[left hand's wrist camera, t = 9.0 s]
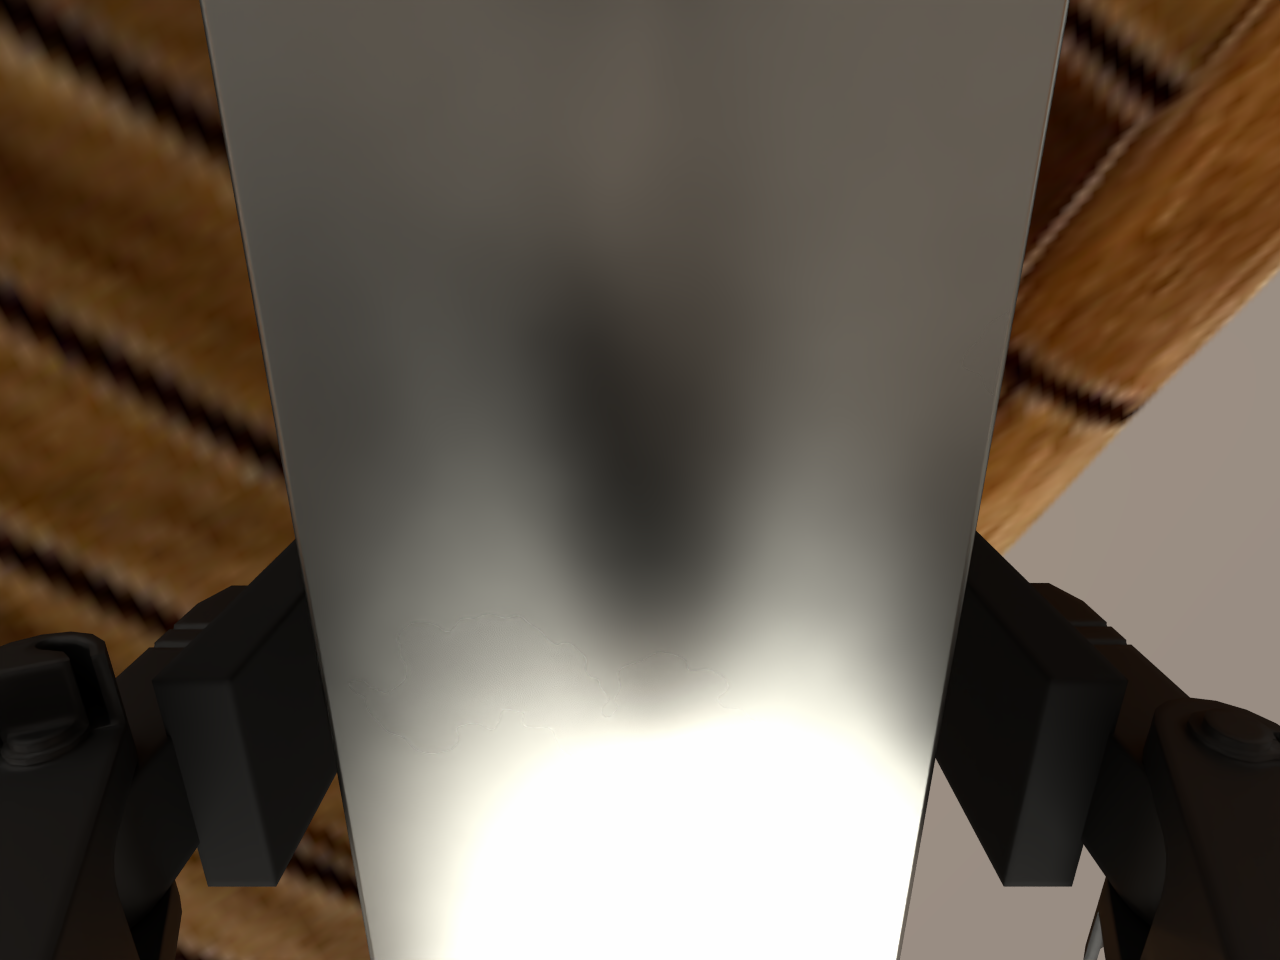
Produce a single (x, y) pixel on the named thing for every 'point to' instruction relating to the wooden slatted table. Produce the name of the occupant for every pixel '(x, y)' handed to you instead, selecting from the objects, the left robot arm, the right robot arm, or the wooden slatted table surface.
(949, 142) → the bar
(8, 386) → the wooden slatted table surface
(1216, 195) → the wooden slatted table surface
